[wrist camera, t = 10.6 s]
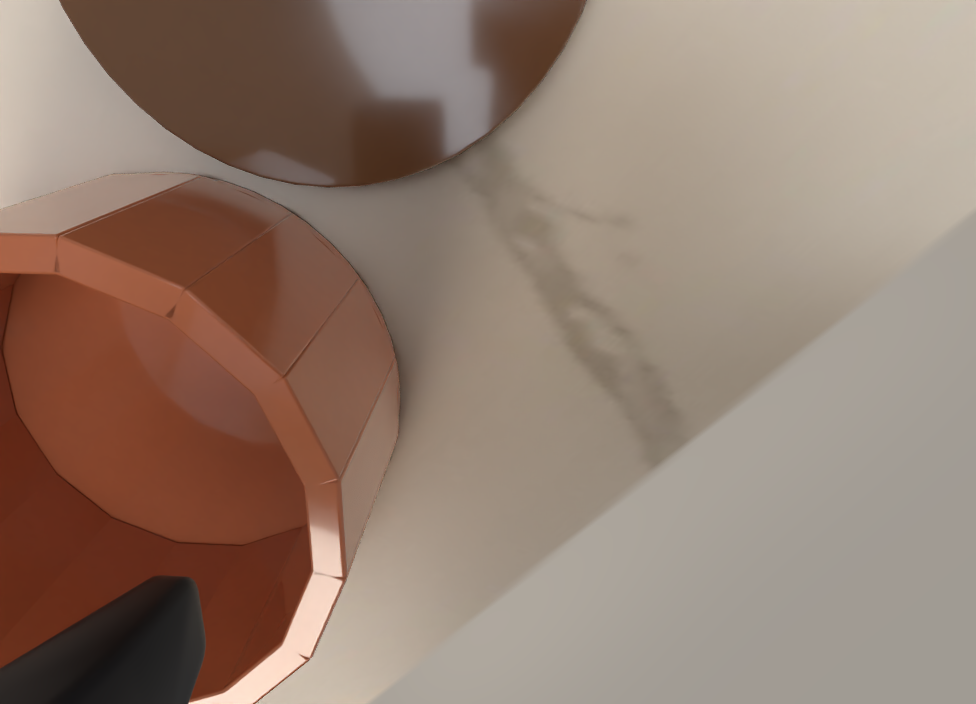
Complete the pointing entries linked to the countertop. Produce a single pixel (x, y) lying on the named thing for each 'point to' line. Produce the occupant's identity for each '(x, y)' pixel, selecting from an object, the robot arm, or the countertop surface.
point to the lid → (327, 76)
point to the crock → (186, 417)
